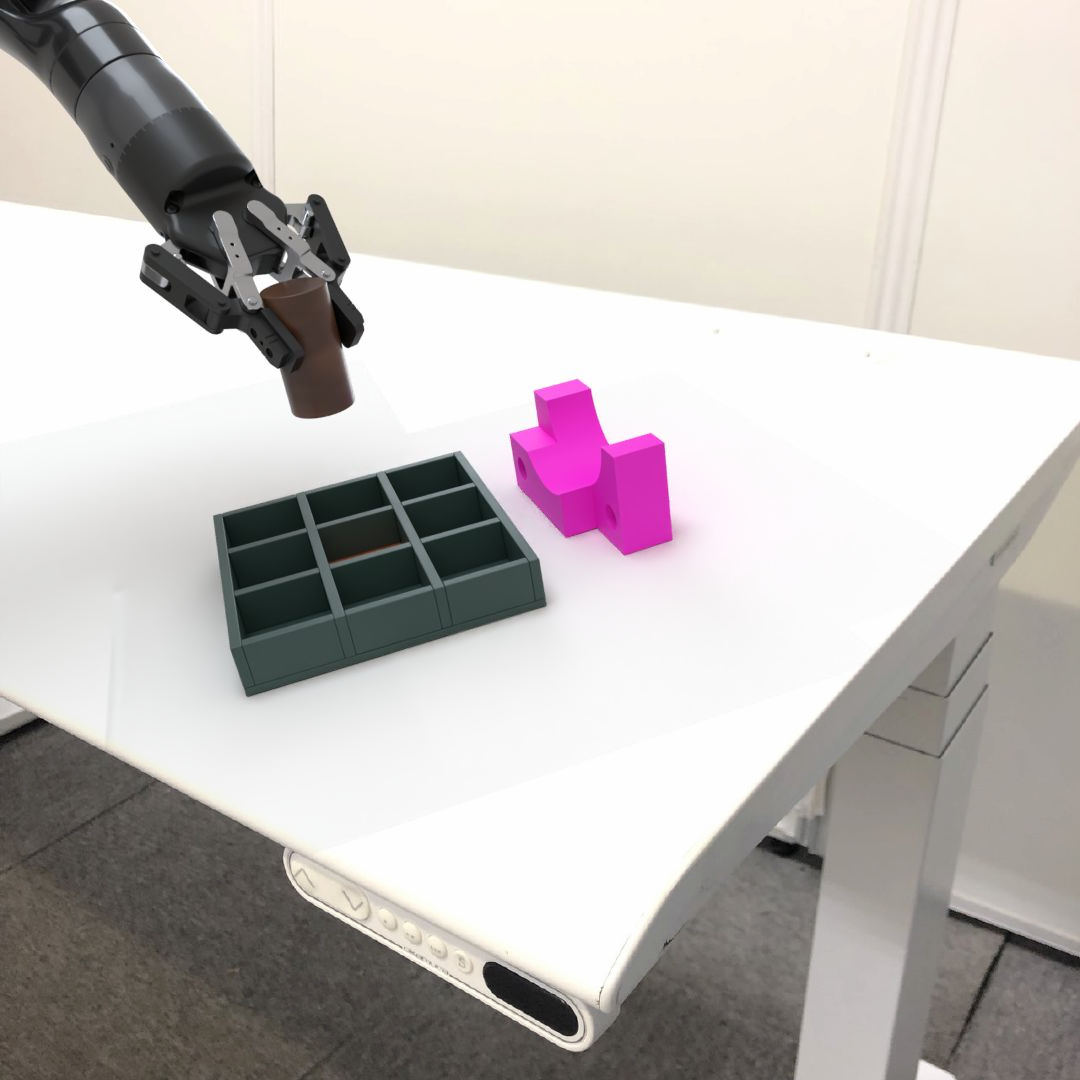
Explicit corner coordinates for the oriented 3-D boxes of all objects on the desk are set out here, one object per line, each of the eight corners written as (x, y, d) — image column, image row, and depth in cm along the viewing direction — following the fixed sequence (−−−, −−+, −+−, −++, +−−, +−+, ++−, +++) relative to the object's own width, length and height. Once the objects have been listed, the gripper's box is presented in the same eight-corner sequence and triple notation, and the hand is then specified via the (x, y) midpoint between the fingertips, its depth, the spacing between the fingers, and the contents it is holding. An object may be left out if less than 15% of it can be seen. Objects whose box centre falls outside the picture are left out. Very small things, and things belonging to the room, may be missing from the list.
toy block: (517, 484, 84) (503, 398, 80) (588, 464, 85) (577, 378, 81) (591, 565, 71) (578, 467, 67) (672, 539, 73) (664, 442, 69)
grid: (246, 697, 63) (229, 649, 61) (226, 556, 80) (212, 515, 78) (547, 605, 67) (539, 558, 66) (468, 490, 84) (460, 450, 82)
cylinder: (296, 424, 66) (262, 302, 62) (288, 403, 69) (255, 286, 65) (360, 408, 67) (331, 287, 63) (349, 388, 70) (320, 272, 66)
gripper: (67, 128, 59) (247, 355, 57) (269, 84, 68) (430, 279, 66) (59, 219, 65) (221, 427, 63) (245, 167, 74) (392, 349, 72)
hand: (327, 350), depth 65 cm, fingers closed on cylinder, 4 cm apart
